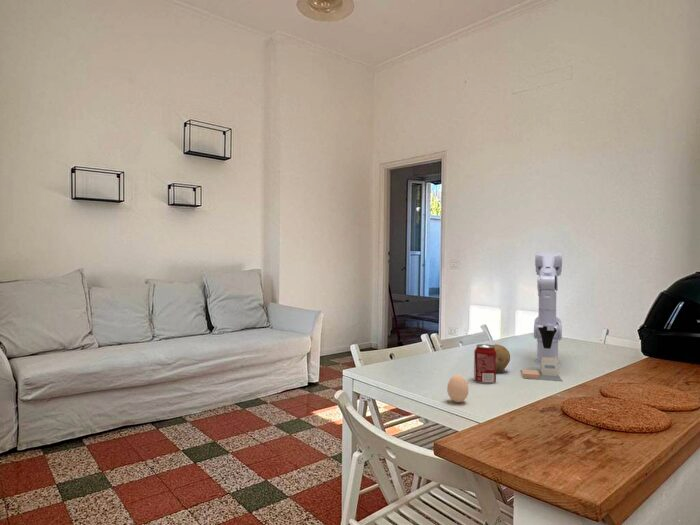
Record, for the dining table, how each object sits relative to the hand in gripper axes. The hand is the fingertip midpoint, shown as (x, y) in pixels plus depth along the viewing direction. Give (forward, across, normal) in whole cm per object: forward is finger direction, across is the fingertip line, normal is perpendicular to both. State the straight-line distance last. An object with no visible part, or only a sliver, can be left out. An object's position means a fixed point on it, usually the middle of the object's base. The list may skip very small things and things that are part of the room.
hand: (547, 348), depth 160 cm
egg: (+9, +42, -29) cm, 52 cm away
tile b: (+8, +5, 0) cm, 10 cm away
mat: (+9, +6, -3) cm, 11 cm away
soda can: (+9, +19, -22) cm, 30 cm away
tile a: (+8, +6, -6) cm, 11 cm away
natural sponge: (+9, +4, -17) cm, 20 cm away
